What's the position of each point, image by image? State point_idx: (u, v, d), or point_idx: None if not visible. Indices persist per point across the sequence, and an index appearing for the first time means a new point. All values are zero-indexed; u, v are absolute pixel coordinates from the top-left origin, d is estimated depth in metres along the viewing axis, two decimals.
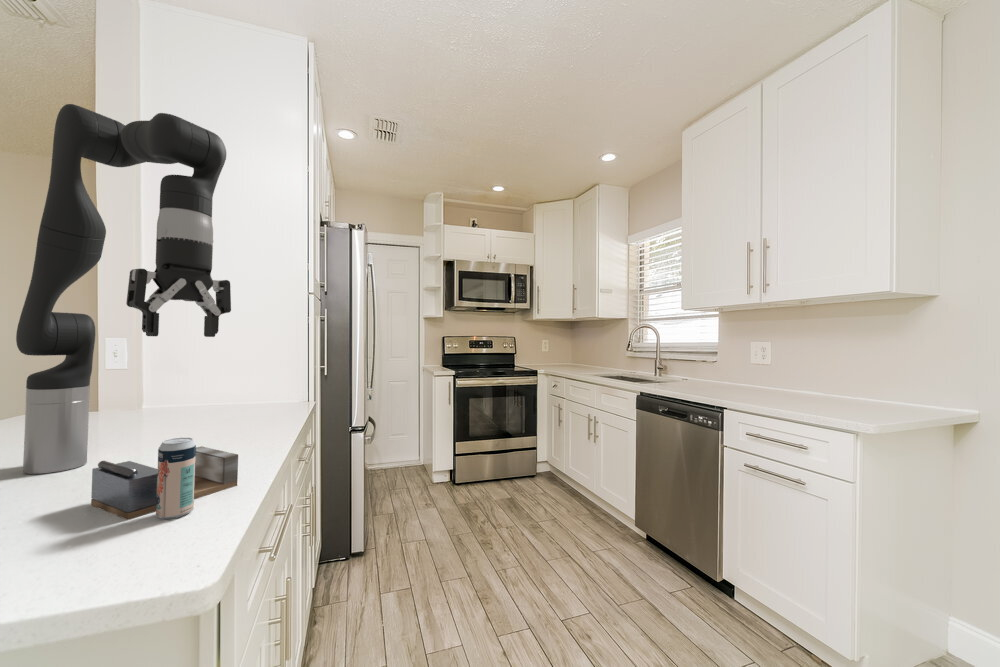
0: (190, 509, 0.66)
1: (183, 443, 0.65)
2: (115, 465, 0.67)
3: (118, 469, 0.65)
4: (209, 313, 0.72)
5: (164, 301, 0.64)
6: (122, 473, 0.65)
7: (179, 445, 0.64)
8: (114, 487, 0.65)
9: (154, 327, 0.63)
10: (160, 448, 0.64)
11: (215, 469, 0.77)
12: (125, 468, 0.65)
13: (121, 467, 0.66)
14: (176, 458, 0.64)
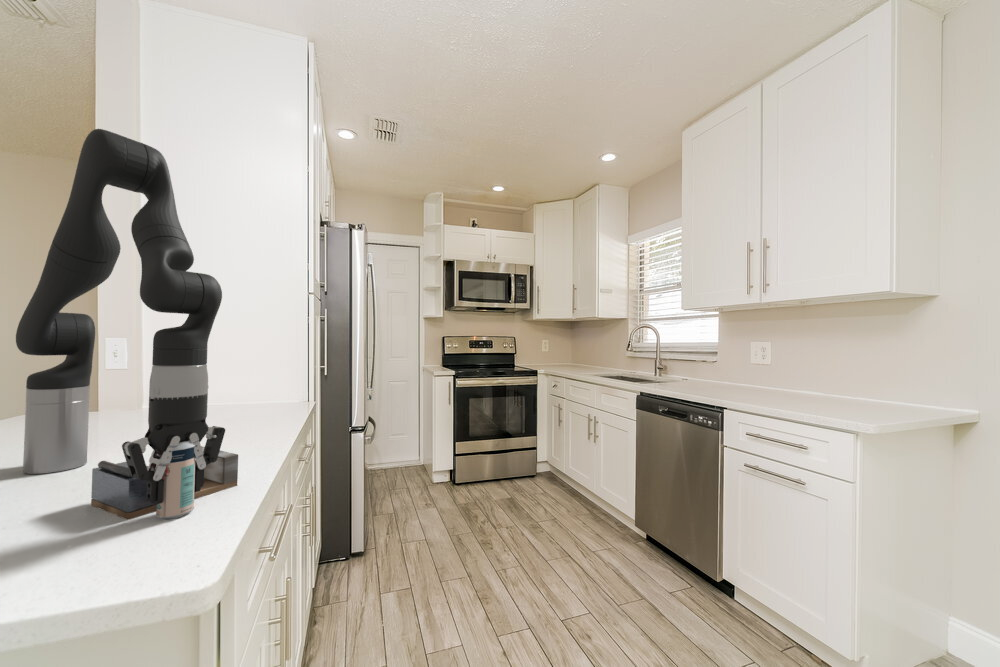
0: (190, 509, 0.66)
1: (183, 443, 0.65)
2: (115, 465, 0.67)
3: (118, 469, 0.65)
4: None
5: (165, 465, 0.63)
6: (122, 473, 0.65)
7: (180, 445, 0.64)
8: (114, 487, 0.65)
9: (159, 495, 0.63)
10: None
11: (215, 469, 0.77)
12: (125, 468, 0.65)
13: (121, 467, 0.66)
14: (176, 458, 0.64)
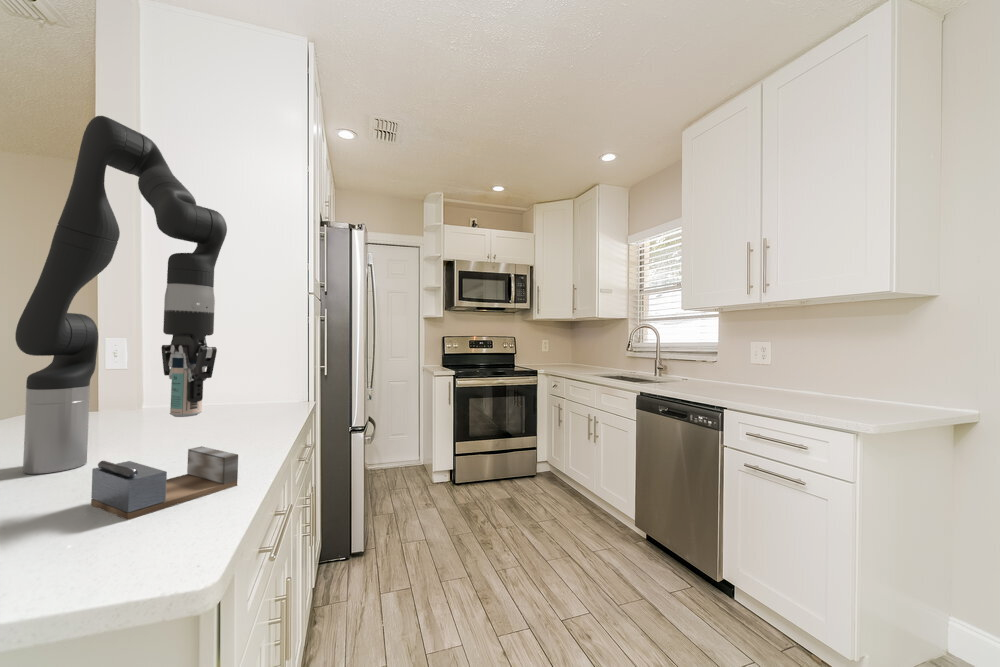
0: (177, 413, 0.73)
1: (175, 352, 0.74)
2: (115, 465, 0.67)
3: (118, 469, 0.65)
4: None
5: None
6: (122, 473, 0.65)
7: (174, 354, 0.74)
8: (114, 487, 0.65)
9: None
10: None
11: (215, 469, 0.77)
12: (125, 468, 0.65)
13: (121, 467, 0.66)
14: (172, 364, 0.74)
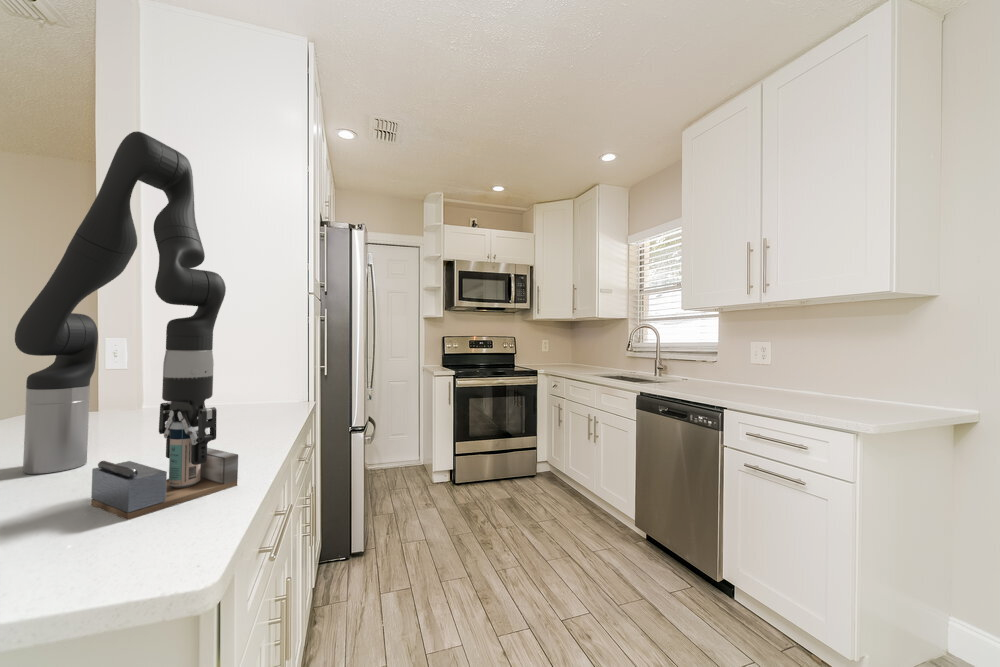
0: (175, 485, 0.73)
1: (173, 423, 0.74)
2: (115, 465, 0.67)
3: (118, 469, 0.65)
4: None
5: (168, 430, 0.76)
6: (122, 473, 0.65)
7: (172, 424, 0.74)
8: (114, 487, 0.65)
9: (166, 451, 0.77)
10: None
11: (215, 469, 0.77)
12: (125, 468, 0.65)
13: (121, 467, 0.66)
14: (170, 435, 0.74)
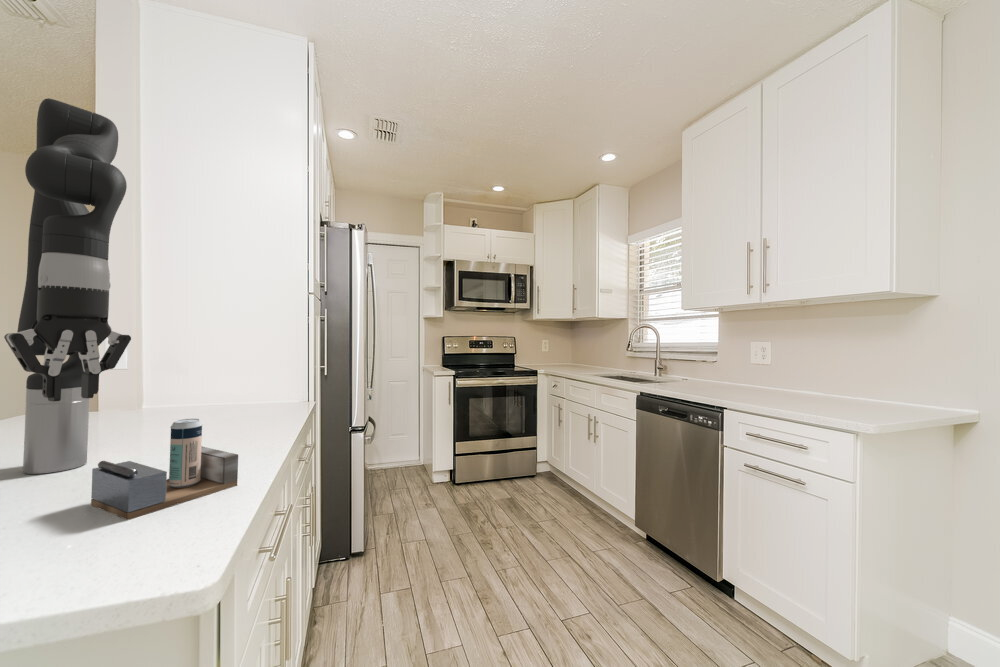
0: (175, 484, 0.73)
1: (174, 423, 0.74)
2: (115, 465, 0.67)
3: (118, 469, 0.65)
4: (87, 371, 0.63)
5: (61, 360, 0.59)
6: (122, 473, 0.65)
7: (172, 424, 0.74)
8: (114, 487, 0.65)
9: (55, 392, 0.59)
10: None
11: (215, 469, 0.77)
12: (125, 468, 0.65)
13: (121, 467, 0.66)
14: None
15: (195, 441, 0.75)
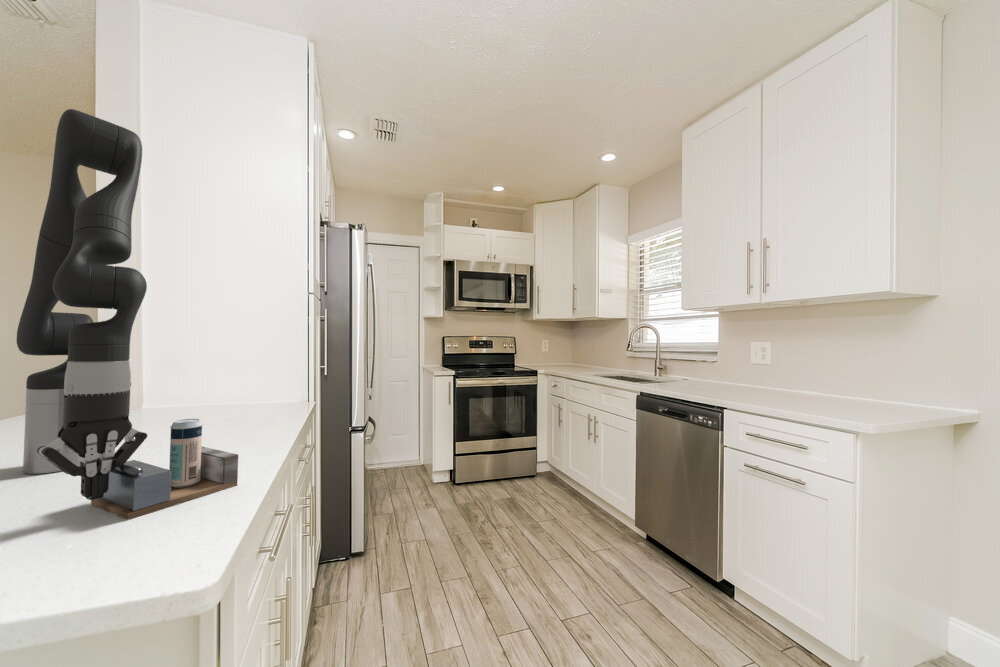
0: (175, 485, 0.73)
1: (174, 423, 0.74)
2: None
3: (123, 468, 0.66)
4: (97, 471, 0.64)
5: (94, 461, 0.63)
6: (127, 472, 0.65)
7: (172, 424, 0.74)
8: (119, 485, 0.66)
9: (93, 491, 0.63)
10: None
11: (215, 469, 0.77)
12: (130, 467, 0.66)
13: (126, 466, 0.66)
14: None
15: (195, 441, 0.75)
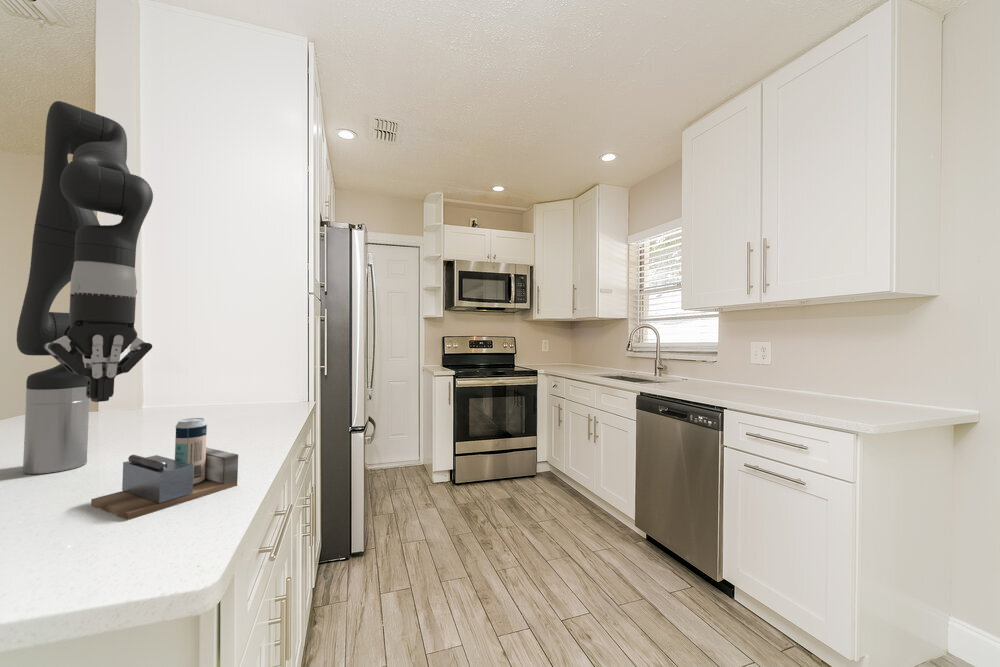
0: None
1: (179, 422, 0.75)
2: (145, 459, 0.70)
3: (149, 462, 0.69)
4: (102, 375, 0.65)
5: (100, 363, 0.63)
6: (153, 466, 0.68)
7: (177, 423, 0.75)
8: (145, 479, 0.69)
9: (98, 393, 0.64)
10: None
11: (215, 469, 0.77)
12: (155, 461, 0.69)
13: (151, 460, 0.69)
14: None
15: (200, 440, 0.76)
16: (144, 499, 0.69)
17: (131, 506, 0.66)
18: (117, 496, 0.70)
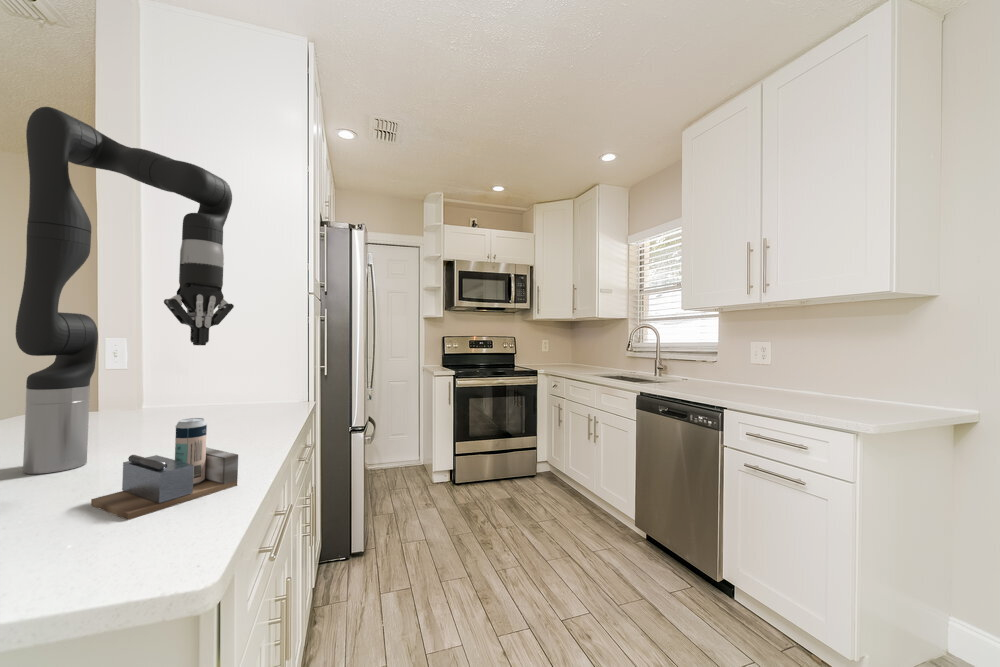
0: None
1: (179, 422, 0.75)
2: (145, 459, 0.70)
3: (149, 462, 0.69)
4: (201, 325, 0.86)
5: (201, 316, 0.85)
6: (153, 466, 0.68)
7: (177, 423, 0.75)
8: (145, 479, 0.69)
9: (199, 338, 0.85)
10: None
11: (215, 469, 0.77)
12: (155, 461, 0.69)
13: (151, 460, 0.69)
14: None
15: (200, 440, 0.76)
16: (144, 499, 0.69)
17: (131, 506, 0.66)
18: (117, 496, 0.70)
